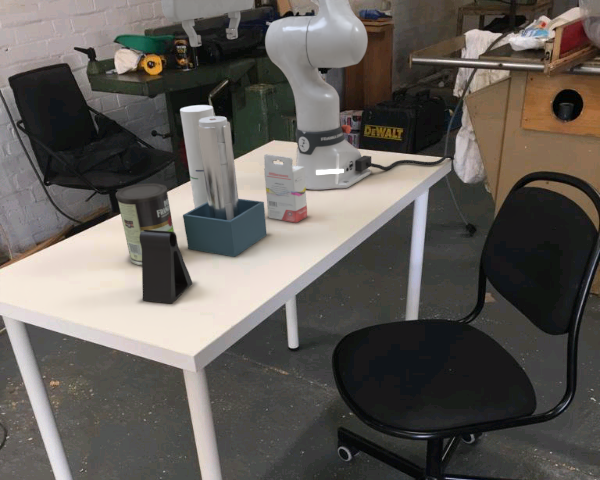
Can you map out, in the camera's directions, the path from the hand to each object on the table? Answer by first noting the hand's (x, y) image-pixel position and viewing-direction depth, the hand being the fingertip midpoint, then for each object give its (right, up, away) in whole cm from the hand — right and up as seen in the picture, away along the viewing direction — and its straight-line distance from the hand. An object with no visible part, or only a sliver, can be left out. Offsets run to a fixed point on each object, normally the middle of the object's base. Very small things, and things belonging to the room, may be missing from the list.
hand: (214, 42), depth 126 cm
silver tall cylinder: (+1, -35, +16) cm, 38 cm away
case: (+1, -35, +16) cm, 39 cm away
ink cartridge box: (+14, -27, +27) cm, 41 cm away
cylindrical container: (-5, -27, +29) cm, 40 cm away
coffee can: (-15, -39, +12) cm, 44 cm away
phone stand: (-8, -50, -3) cm, 51 cm away
